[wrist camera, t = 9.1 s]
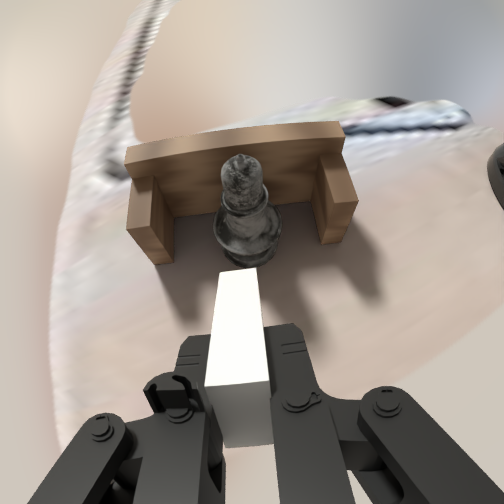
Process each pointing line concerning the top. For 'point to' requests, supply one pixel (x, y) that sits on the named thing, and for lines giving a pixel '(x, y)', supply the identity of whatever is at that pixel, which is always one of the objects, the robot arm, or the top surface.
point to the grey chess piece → (246, 214)
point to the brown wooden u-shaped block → (210, 184)
